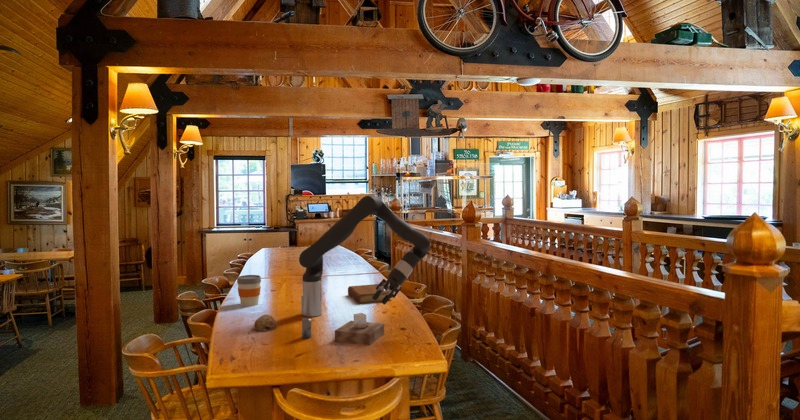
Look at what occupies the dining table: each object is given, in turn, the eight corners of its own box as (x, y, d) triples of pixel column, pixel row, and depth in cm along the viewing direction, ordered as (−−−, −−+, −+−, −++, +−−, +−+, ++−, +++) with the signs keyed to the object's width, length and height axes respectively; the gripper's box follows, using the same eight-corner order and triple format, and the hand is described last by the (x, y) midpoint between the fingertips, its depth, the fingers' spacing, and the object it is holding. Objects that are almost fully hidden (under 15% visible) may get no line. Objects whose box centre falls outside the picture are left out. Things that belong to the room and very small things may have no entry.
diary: (347, 296, 303) (347, 286, 302) (378, 293, 309) (378, 283, 309) (359, 304, 281) (358, 294, 281) (391, 301, 288) (391, 291, 287)
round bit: (300, 338, 221) (300, 319, 220) (303, 335, 225) (303, 317, 224) (309, 339, 220) (310, 320, 220) (312, 335, 224) (312, 317, 224)
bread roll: (256, 339, 232) (257, 325, 229) (251, 324, 240) (252, 310, 237) (278, 336, 237) (279, 322, 233) (272, 321, 245) (274, 308, 241)
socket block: (334, 341, 217) (334, 330, 217) (350, 330, 232) (350, 320, 232) (370, 345, 212) (370, 334, 211) (384, 333, 227) (384, 323, 226)
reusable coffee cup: (257, 307, 275) (257, 279, 274) (234, 307, 276) (233, 279, 275) (264, 301, 288) (263, 274, 287) (241, 301, 288) (241, 274, 287)
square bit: (353, 337, 223) (353, 314, 222) (362, 335, 225) (361, 312, 224) (358, 339, 219) (357, 316, 219) (366, 337, 221) (366, 314, 221)
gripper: (387, 265, 235) (365, 293, 230) (403, 269, 223) (380, 299, 218) (397, 275, 238) (375, 303, 233) (414, 280, 226) (391, 310, 221)
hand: (378, 301), depth 225 cm, fingers open, 8 cm apart
